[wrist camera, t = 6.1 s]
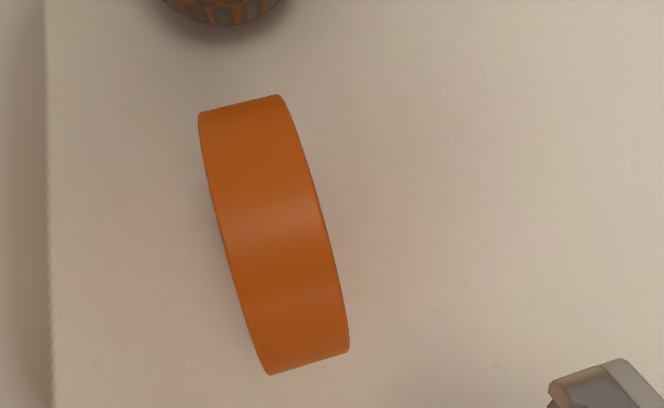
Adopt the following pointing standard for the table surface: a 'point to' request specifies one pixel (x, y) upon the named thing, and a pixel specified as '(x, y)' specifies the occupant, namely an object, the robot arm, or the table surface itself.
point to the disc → (273, 233)
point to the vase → (221, 10)
